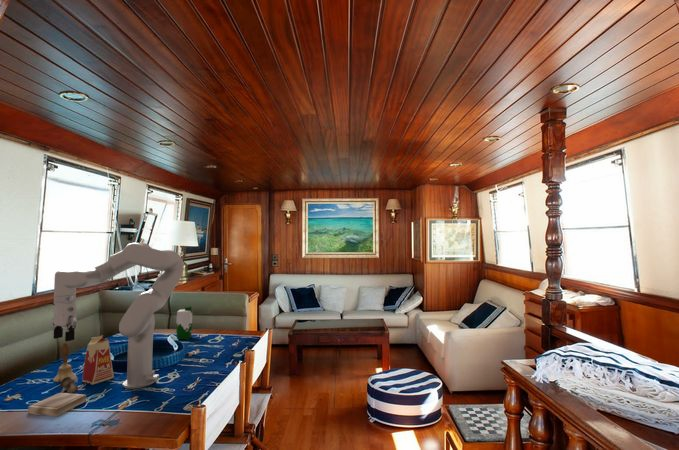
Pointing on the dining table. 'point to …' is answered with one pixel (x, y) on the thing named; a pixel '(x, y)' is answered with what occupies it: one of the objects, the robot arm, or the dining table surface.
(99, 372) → the milk carton
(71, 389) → the brown bird figurine
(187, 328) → the soya milk
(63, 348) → the hand bell
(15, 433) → the dining table surface
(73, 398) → the tan wooden tray
